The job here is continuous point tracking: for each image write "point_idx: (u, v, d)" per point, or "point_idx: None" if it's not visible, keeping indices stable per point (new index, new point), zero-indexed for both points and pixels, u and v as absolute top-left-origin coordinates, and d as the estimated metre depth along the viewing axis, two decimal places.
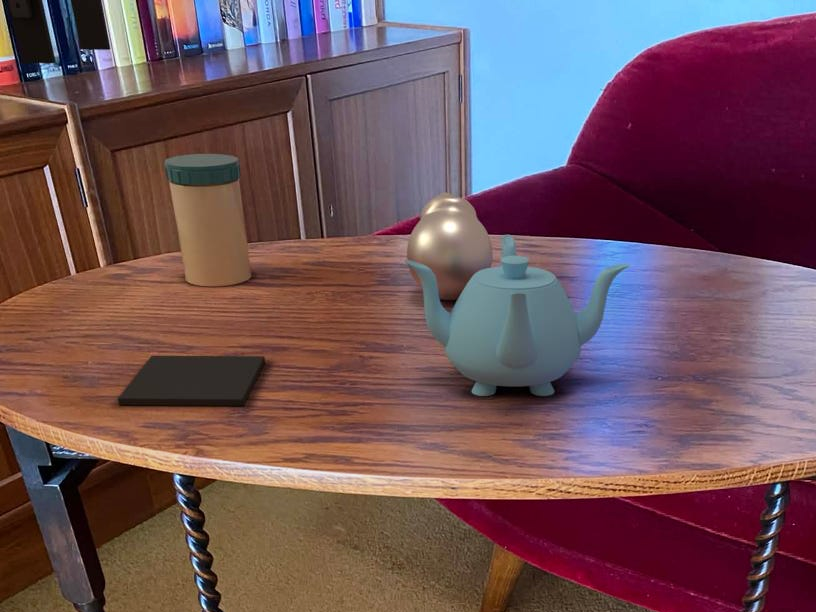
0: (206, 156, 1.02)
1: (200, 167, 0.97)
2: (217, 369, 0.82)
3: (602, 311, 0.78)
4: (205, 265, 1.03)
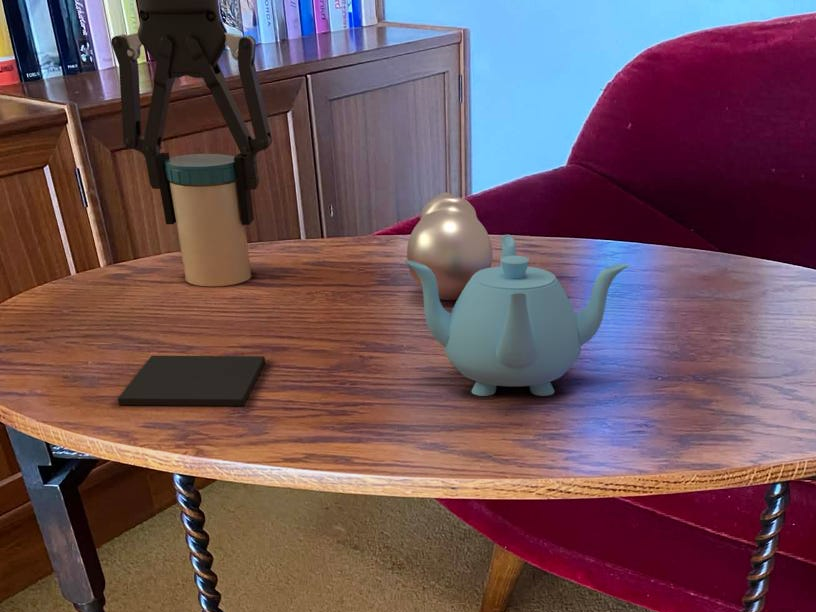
0: (206, 156, 1.02)
1: (200, 167, 0.97)
2: (217, 369, 0.82)
3: (602, 311, 0.78)
4: (205, 265, 1.03)
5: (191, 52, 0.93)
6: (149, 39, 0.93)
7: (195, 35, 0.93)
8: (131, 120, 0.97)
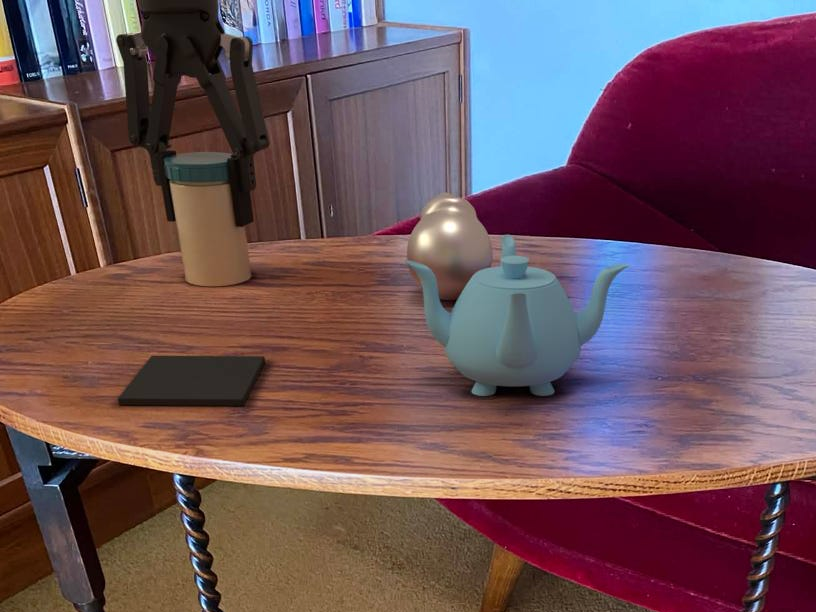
0: (190, 161, 0.98)
1: (212, 152, 1.03)
2: (217, 369, 0.82)
3: (602, 311, 0.78)
4: (205, 265, 1.03)
5: None
6: None
7: None
8: None
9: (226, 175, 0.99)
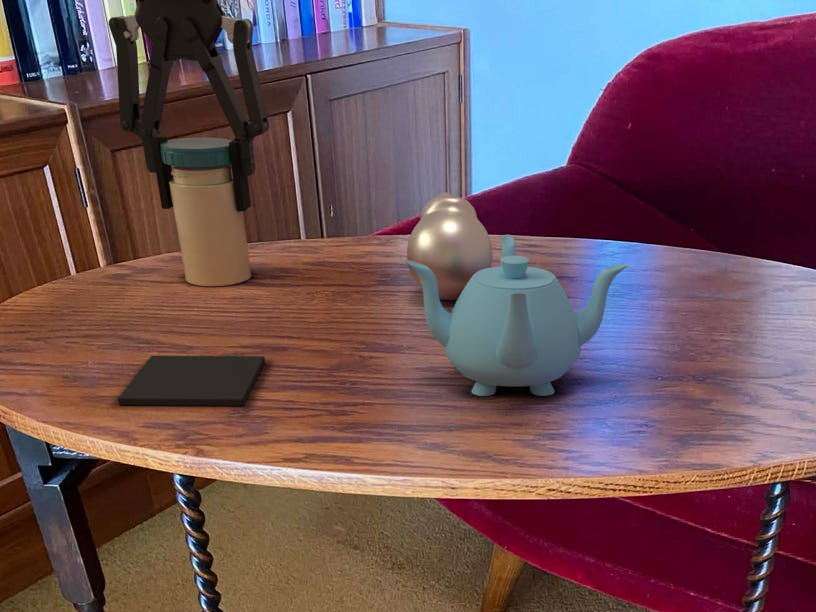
0: (190, 146, 0.97)
1: (202, 138, 1.02)
2: (217, 369, 0.82)
3: (602, 311, 0.78)
4: (205, 264, 1.03)
5: None
6: None
7: None
8: None
9: (228, 160, 0.99)
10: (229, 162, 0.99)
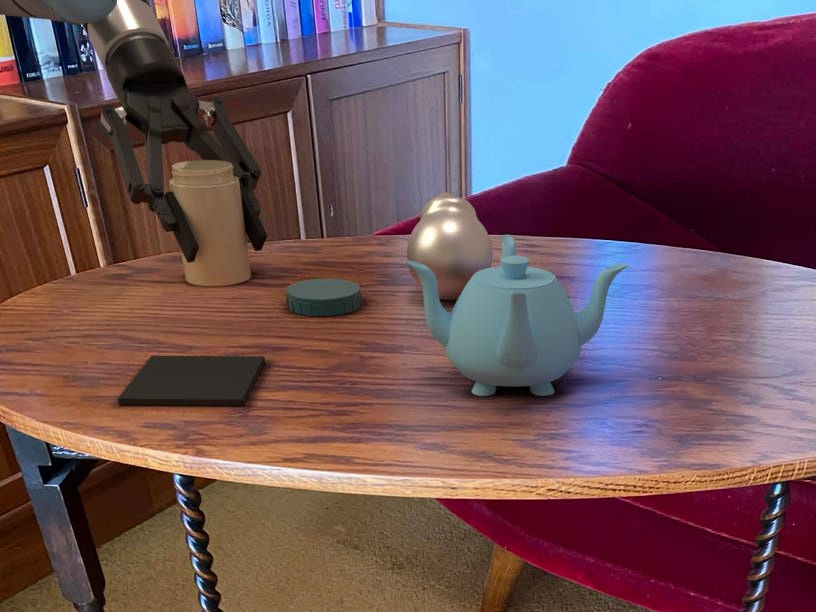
0: (318, 294, 0.96)
1: (324, 279, 1.01)
2: (217, 369, 0.82)
3: (602, 311, 0.78)
4: (205, 265, 1.03)
5: None
6: None
7: None
8: None
9: (355, 306, 0.98)
10: (356, 308, 0.98)
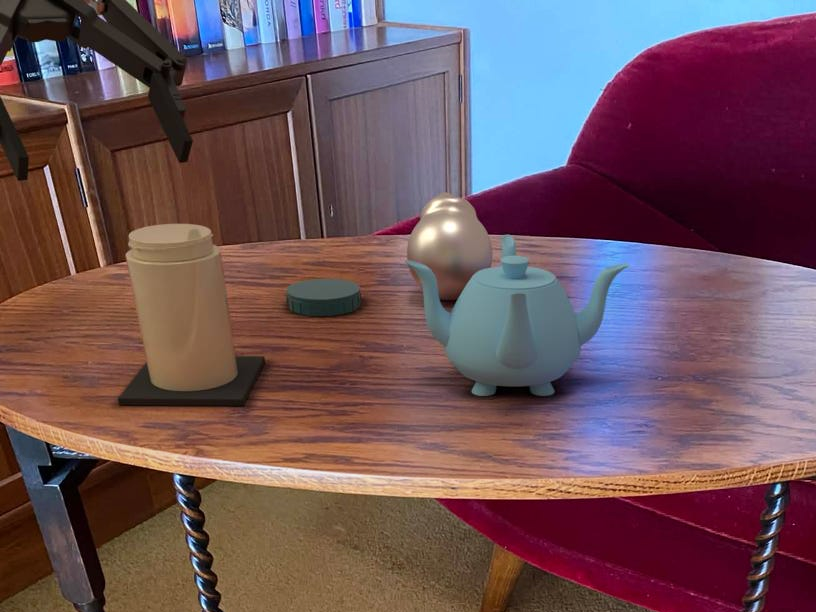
0: (318, 294, 0.96)
1: (324, 279, 1.01)
2: None
3: (602, 311, 0.78)
4: (175, 364, 0.77)
5: None
6: None
7: None
8: None
9: (355, 306, 0.98)
10: (356, 308, 0.98)
